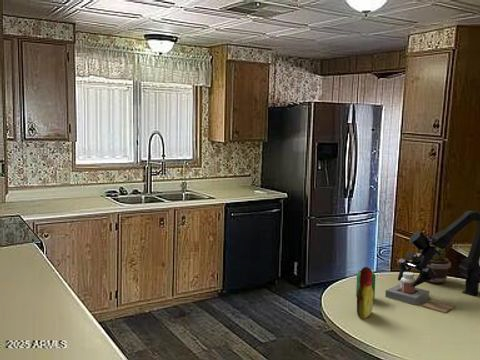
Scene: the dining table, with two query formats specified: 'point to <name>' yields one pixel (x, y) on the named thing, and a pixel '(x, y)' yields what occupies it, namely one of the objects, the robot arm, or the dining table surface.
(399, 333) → the dining table surface
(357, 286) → the beverage can
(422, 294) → the holder
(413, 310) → the dining table surface
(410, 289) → the pill bottle
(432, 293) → the dining table surface
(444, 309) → the pad
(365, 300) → the bottle
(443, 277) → the flowerpot
